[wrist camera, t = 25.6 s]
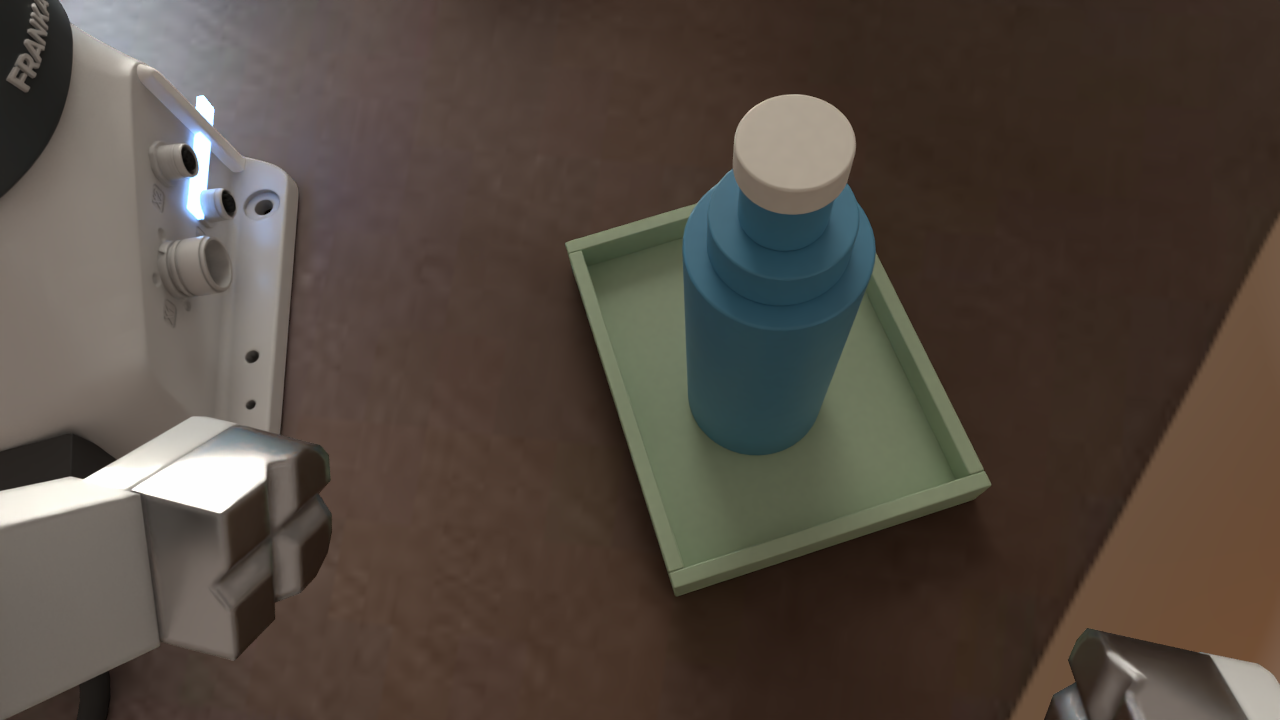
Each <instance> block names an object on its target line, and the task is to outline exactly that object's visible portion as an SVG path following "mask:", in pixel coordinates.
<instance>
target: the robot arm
mask: <svg viewBox="0 0 1280 720" xmlns="http://www.w3.org/2000/svg"><path fill="white" fill-rule="evenodd" d="M213 116H214V108H213V107H212V105H211V104H210V103H209V102H208V100H207V99H206V98H205V97H204V96H198V97H197V102H196V108H195V107H194V106H193V105H192V104H191V103H190V102H189V101H188V100H187V99H186V98H185V97H184V96H183V95H182V94H181V93H180V92H179V91H178V90H177V89H176V88H175V87H174V86H173V85H172V84H171V83H170V82H169V81H168V80H167V79H166V78H165V77H164V76H163V75H162V74H161V73H160V72H158V71H157V70H156V69H154V68H151V67H149V66H148V65H147V64H145V63H143V62H141V61H139V60H137V59H134V58H132V57H130V56H128V55H126V54H124V53H122V52H120V51H118V50H116V49H114V48H112V47H111V46H109V45H107V44H105V43H103V42H101V41H99V40H98V39H96V38H94V37H92V36H91V35H89V34H87V33H86V32H84V31H82V30H81V29H79V28H78V27H76V26H75V25H73V24H71V23H70V21H69V18H68V16H67V14H66V12H65V10H64V8H63V6H62V5H61V3H60V2H59V1H58V0H0V720H5V719H7V718H9V717H11V716H14V715H16V714H18V713H20V712H22V711H24V710H26V709H28V708H30V707H33V706H35V705H37V704H39V703H41V702H43V701H45V700H47V699H50V698H52V697H54V696H56V695H58V694H60V693H62V692H64V691H66V690H69V689H71V688H73V687H75V686H77V685H79V684H80V704H79V710H78V717H77V720H106V718H107V714H108V707H109V700H110V676H109V670H111V669H113V668H115V667H117V666H119V665H121V664H124V663H126V662H128V661H130V660H132V659H134V658H136V657H138V656H141V655H143V654H145V653H147V652H149V651H151V650H153V649H155V648H157V647H159V646H160V642H163V643H167V644H171V645H175V646H178V647H182V648H186V649H190V650H194V651H198V652H202V653H206V654H210V655H214V656H218V657H222V658H226V659H230V660H234V661H235V660H236V659H237V658H238V657H239V656H240V655H241V654H242V653H243V651H244V650H245V649H246V648H247V647H248V646H249V645H250V644H251V643H252V642H253V641H254V640H255V639H256V638H257V637H258V636H259V635H260V634H261V633H262V632H263V631H264V630H265V629H266V628H267V627H268V626H269V625H270V624H271V623H272V622H273V621H274V620H275V602H278V601H281V600H283V599H286V598H289V597H291V596H294V595H297V594H299V593H301V592H302V591H303V590H304V589H305V588H306V586H307V585H308V584H309V583H310V582H311V581H312V580H313V579H314V578H315V577H316V575H317V573H318V571H319V569H320V567H321V565H322V563H323V561H324V559H325V557H326V555H327V553H328V548H329V543H330V539H331V534H332V515H331V512H330V511H329V509H328V508H327V506H326V505H325V503H324V501H323V500H322V498H321V497H320V495H319V493H320V492H321V491H322V490H323V489H324V487H325V486H326V485H327V484H328V483H329V482H330V466H329V455H328V453H327V452H326V451H325V450H324V449H323V448H322V447H321V446H320V445H317V444H314V443H310V442H306V441H302V440H298V439H294V438H290V437H287V436H283V435H280V429H281V418H282V405H283V392H284V379H285V366H286V353H287V340H288V327H289V314H290V302H291V289H292V276H293V263H294V250H295V237H296V224H297V211H298V198H299V190H298V186H297V184H296V182H295V181H294V180H293V179H292V178H291V177H290V176H289V175H288V174H287V173H286V172H285V171H284V170H283V169H281V168H280V167H278V166H276V165H273V164H271V163H267V162H264V161H260V160H256V159H252V158H247V157H244V156H241V155H240V154H239V153H238V152H237V151H236V149H235V148H234V147H233V146H232V145H231V144H230V143H229V142H228V141H227V140H226V139H225V138H224V137H223V136H222V135H221V134H220V133H219V132H218V131H217V130H216V129H215V128H214V127H213ZM269 209H272V210H271V211H270V212H269V213H268V214H266V215H263V214H264V213H265V212H266V211H267V210H269ZM1068 661H1069V664H1070V667H1071V670H1072V673H1073V676H1074V679H1075V681H1076V682H1075V683H1073V684H1072V685H1070V686H1068V687H1066V688H1064V689H1063V690H1061V691H1059V692H1057V693H1056V694H1054V695H1053V697H1052V700H1051V702H1050V705H1049V708H1048V711H1047V713H1046V716H1045V719H1044V720H1280V684H1279V683H1278V681H1277V680H1276V678H1275V677H1274V675H1273V674H1272V673H1271V672H1269V671H1268V670H1266V669H1265V668H1263V667H1262V666H1260V665H1259V664H1257V663H1252V662H1247V661H1242V660H1237V659H1232V658H1227V657H1222V656H1217V655H1212V654H1208V653H1203V652H1199V653H1198V652H1193V651H1189V650H1184V649H1180V648H1175V647H1170V646H1166V645H1162V644H1157V643H1153V642H1148V641H1143V640H1139V639H1134V638H1130V637H1125V636H1121V635H1116V634H1112V633H1107V632H1103V631H1098V630H1094V629H1089V628H1087V629H1086V630H1085V631H1084V632H1083V634H1082V635H1081V636H1080V637H1079V638H1078V639H1077V641H1076V643H1075V645H1074V647H1073V650H1072V652H1071V655H1070V657H1069V659H1068Z"/></svg>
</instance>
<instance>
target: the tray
mask: <svg viewBox="0 0 1280 720" xmlns="http://www.w3.org/2000/svg"><path fill="white" fill-rule="evenodd" d="M695 206H696V204H693V205H690V206H687V207H683V208H680V209H676V210H673V211H670V212H666V213H663V214H660V215H656V216H653V217H650V218H646V219H643V220H639V221H636V222H633V223H629V224H626V225H623V226H619V227H616V228H613V229H609V230H606V231H602V232H599V233H596V234H592V235H589V236H586V237H582V238H579V239H576V240H572V241H569V242H566V243H565V246H566V249H567V253H568V256H569V260H570V263H571V267H572V270H573V273H574V276H575V280H576V283H577V286H578V289H579V292H580V295H581V299H582V302H583V305H584V308H585V311H586V315H587V318H588V321H589V324H590V327H591V330H592V334H593V337H594V340H595V343H596V346H597V350H598V353H599V356H600V359H601V362H602V365H603V369H604V372H605V375H606V378H607V381H608V385H609V388H610V391H611V394H612V397H613V400H614V404H615V407H616V410H617V413H618V416H619V420H620V423H621V426H622V429H623V432H624V435H625V439H626V442H627V445H628V448H629V451H630V454H631V458H632V461H633V464H634V467H635V470H636V474H637V477H638V480H639V483H640V486H641V489H642V493H643V496H644V499H645V502H646V505H647V509H648V512H649V515H650V518H651V521H652V524H653V528H654V531H655V534H656V537H657V540H658V544H659V547H660V550H661V553H662V556H663V559H664V563H665V566H666V569H667V572H668V575H669V578H670V582H671V585H672V588H673V591H674V594H675V596H680V595H683V594H686V593H689V592H692V591H695V590H698V589H702V588H705V587H708V586H711V585H714V584H717V583H720V582H723V581H726V580H729V579H732V578H735V577H738V576H741V575H744V574H748V573H751V572H754V571H757V570H760V569H763V568H766V567H769V566H772V565H775V564H778V563H781V562H784V561H787V560H790V559H793V558H797V557H800V556H803V555H806V554H809V553H812V552H815V551H818V550H821V549H824V548H827V547H830V546H833V545H836V544H839V543H843V542H846V541H849V540H852V539H855V538H858V537H861V536H864V535H867V534H870V533H873V532H876V531H879V530H882V529H885V528H888V527H892V526H895V525H898V524H901V523H904V522H907V521H910V520H913V519H916V518H919V517H922V516H925V515H928V514H931V513H934V512H937V511H941V510H944V509H947V508H950V507H953V506H956V505H959V504H962V503H965V502H968V501H971V500H974V499H975V498H977V497H978V496H979V495H980V494H981V493H983V492H984V491H985V490H986V489H988V488H989V487H990V486H991V483H990V481H989V479H988V477H987V475H986V473H985V471H983V470H984V469H983V467H982V465H981V463H980V460H979V458H978V456H977V454H976V452H975V450H974V448H973V446H972V444H971V442H970V440H969V438H968V436H967V434H966V432H965V430H964V428H963V426H962V424H961V422H960V420H959V418H958V416H957V414H956V412H955V410H954V408H953V406H952V404H951V402H950V400H949V398H948V396H947V394H946V392H945V390H944V388H943V386H942V384H941V382H940V380H939V378H938V376H937V374H936V372H935V370H934V368H933V366H932V364H931V362H930V360H929V358H928V356H927V354H926V352H925V350H924V348H923V346H922V344H921V342H920V340H919V338H918V336H917V334H916V332H915V330H914V328H913V326H912V324H911V322H910V320H909V318H908V316H907V314H906V312H905V310H904V308H903V306H902V304H901V302H900V300H899V298H898V296H897V294H896V292H895V290H894V288H893V286H892V284H891V282H890V280H889V278H888V276H887V274H886V272H885V270H884V268H883V266H882V264H881V262H880V260H879V258H878V256H877V254H875V264H874V268H873V272H872V275H871V278H870V280H869V283H868V286H867V288H866V291H865V293H864V296H863V299H862V301H861V304H860V306H859V309H858V312H857V314H856V317H855V320H854V322H853V325H852V327H851V330H850V333H849V335H848V338H847V341H846V343H845V346H844V348H843V351H842V354H841V356H840V359H839V361H838V364H837V367H836V369H835V372H834V375H833V377H832V380H831V382H830V385H829V388H828V390H827V393H826V396H825V398H824V401H823V403H822V406H821V409H820V411H819V414H818V416H817V419H816V421H815V423H814V424H813V426H812V428H811V429H810V430H809V432H808V433H807V434H806V435H805V436H804V437H803V438H802V439H801V440H800V441H798V442H797V443H796V444H794V445H793V446H791V447H789V448H787V449H785V450H782V451H780V452H777V453H773V454H768V455H746V454H740V453H736V452H733V451H730V450H728V449H726V448H724V447H722V446H720V445H718V444H717V443H715V442H714V441H713V440H711V439H710V438H709V437H708V436H707V435H706V434H705V433H704V432H703V431H702V429H701V428H700V427H699V426H698V424H697V422H696V421H695V419H694V417H693V414H692V412H691V409H690V405H689V400H688V385H687V359H686V333H685V306H684V280H683V254H682V245H683V235H684V230H685V226H686V223H687V221H688V218H689V216H690V214H691V212H692V210H693V209H694V207H695Z"/></svg>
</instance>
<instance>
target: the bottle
mask: <svg viewBox="0 0 1280 720" xmlns="http://www.w3.org/2000/svg"><path fill="white" fill-rule="evenodd" d="M855 151H856V139H855V135H854V131H853V129H852V126H851V125H850V123H849V121H848V120H847V118H846V117H845V116H844V115H843V114H842V113H841V112H840V111H839V110H838V109H837V108H835V107H834V106H833V105H831V104H829V103H827V102H826V101H823V100H821V99H818V98H815V97H811V96H806V95H798V94H793V95H781V96H777V97H773V98H770V99H767V100H765V101H763V102H761V103H759V104H758V105H756V106H755V107H753V108H752V109H751V110H750V111H749V112H748V113H747V114H746V115H745V116H744V117H743V119H742V120H741V121H740V123H739V125H738V127H737V130H736V133H735V138H734V152H733V169H732V170H730V171H729V172H728V173H727V174H726V175H725V176H724V177H723V178H722V179H721V180H720V182H719V183H718V184H716V185H715V186H714V187H713V188H711V189H710V190H709V191H708V192H707V193H706V194H705V195H704V196H703V197H702V198H701V199H700V200H699V202H698V203H697V204H696V206H695V207H694V209H693V210H692V212H691V214H690V216H689V218H688V221H687V223H686V226H685V230H684V235H683V245H682V254H683V280H684V306H685V333H686V359H687V385H688V400H689V405H690V409H691V412H692V414H693V417H694V419H695V421H696V422H697V424H698V426H699V427H700V428H701V429H702V431H703V432H704V433H705V434H706V435H707V436H708V437H709V438H710V439H711V440H713V441H714V442H715V443H717V444H718V445H720V446H722V447H724V448H726V449H728V450H730V451H733V452H736V453H740V454H746V455H768V454H773V453H777V452H780V451H782V450H785V449H787V448H789V447H791V446H793V445H794V444H796V443H797V442H798V441H800V440H801V439H802V438H803V437H804V436H805V435H806V434H807V433H808V432H809V430H810V429H811V428H812V426H813V424H814V423H815V421H816V419H817V416H818V414H819V411H820V409H821V406H822V403H823V401H824V398H825V396H826V393H827V390H828V388H829V385H830V382H831V380H832V377H833V375H834V372H835V369H836V367H837V364H838V361H839V359H840V356H841V354H842V351H843V348H844V346H845V343H846V341H847V338H848V335H849V333H850V330H851V327H852V325H853V322H854V320H855V317H856V314H857V312H858V309H859V306H860V304H861V301H862V299H863V296H864V293H865V291H866V288H867V286H868V283H869V280H870V278H871V275H872V272H873V268H874V264H875V254H876V248H875V239H874V234H873V230H872V227H871V225H870V222H869V220H868V218H867V216H866V214H865V212H864V211H863V209H862V208H861V206H860V205H859V204H858V202H857V201H856V198H855V196H854V194H853V192H852V190H851V188H850V186H849V185H848V184H847V181H848V178H849V174H850V170H851V167H852V163H853V159H854V156H855Z"/></svg>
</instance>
